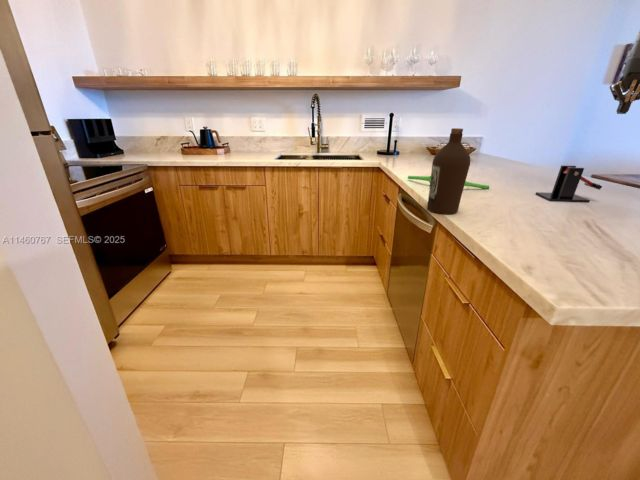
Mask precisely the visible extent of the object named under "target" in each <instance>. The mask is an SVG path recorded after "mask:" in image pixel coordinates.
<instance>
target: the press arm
mask: <svg viewBox="0 0 640 480" xmlns="http://www.w3.org/2000/svg"><path fill="white" fill-rule="evenodd" d="M568 168H569V167H567V168H566V169H565V171H564V172H563V173H565V174H566V173H567V171H568ZM570 168H572V167H570ZM581 181H582V182H583V183H584V186H587V187H589V188H593V189H596V190H601V189H602V188H603V186H602V185H601V184H598V183H595V182H592V181H590V180H589V179H587V178H585V177H583V175H582V176H581V178H580V182H581Z"/></svg>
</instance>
